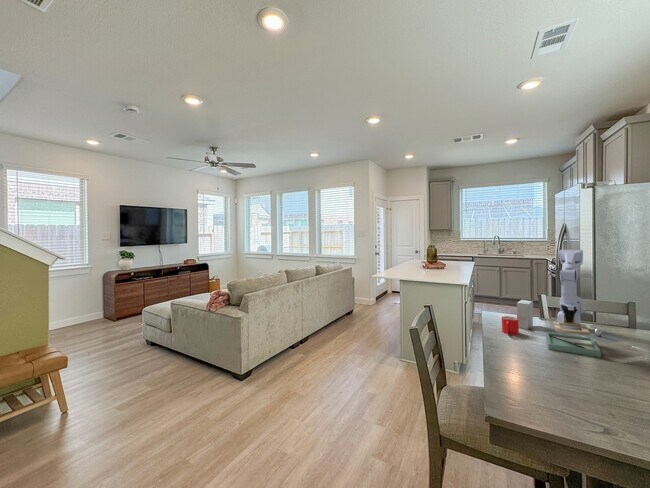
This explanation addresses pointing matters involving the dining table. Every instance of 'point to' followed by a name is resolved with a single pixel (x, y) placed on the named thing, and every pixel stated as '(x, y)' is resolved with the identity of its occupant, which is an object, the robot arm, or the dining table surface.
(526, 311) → the skincare box
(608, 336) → the stake board
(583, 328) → the tan wooden square frame
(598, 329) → the stake
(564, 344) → the tray
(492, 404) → the dining table surface
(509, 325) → the mug
